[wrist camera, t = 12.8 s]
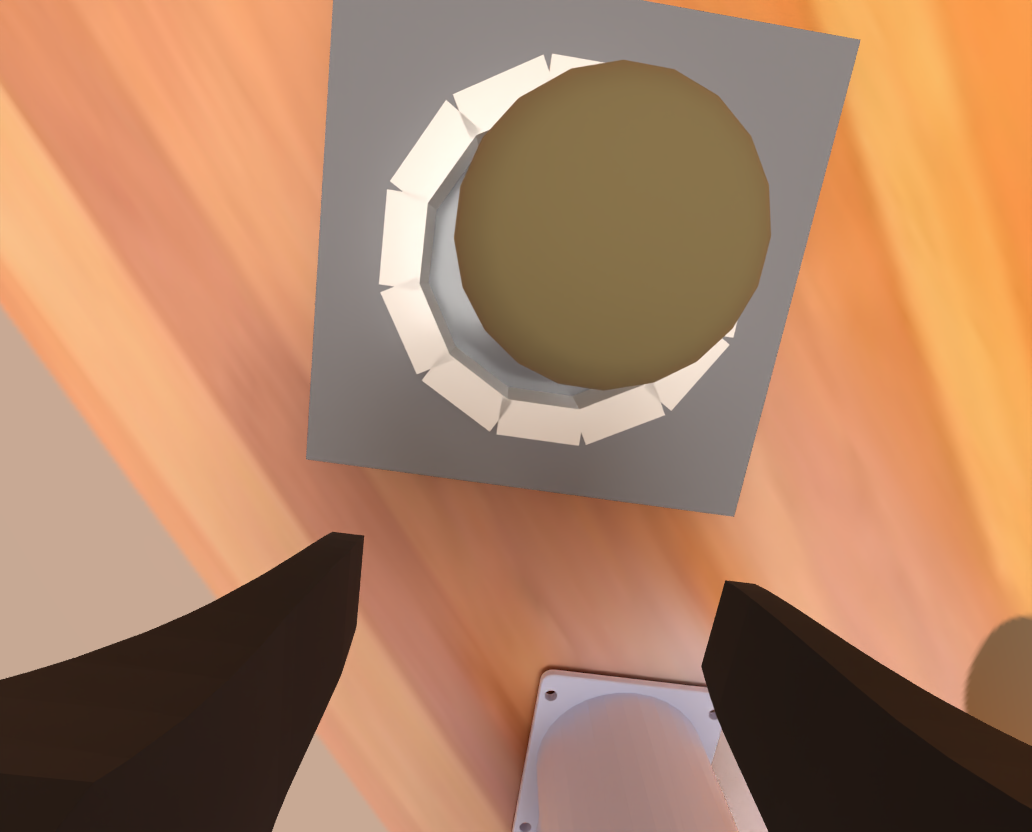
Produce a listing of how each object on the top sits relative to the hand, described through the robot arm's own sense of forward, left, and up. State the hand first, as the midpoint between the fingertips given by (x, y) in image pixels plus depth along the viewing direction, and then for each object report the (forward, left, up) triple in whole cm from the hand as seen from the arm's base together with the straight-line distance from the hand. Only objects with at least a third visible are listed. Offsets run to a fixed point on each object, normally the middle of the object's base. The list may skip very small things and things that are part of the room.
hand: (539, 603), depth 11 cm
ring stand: (+7, 0, -10) cm, 12 cm away
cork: (+7, 0, -10) cm, 12 cm away
